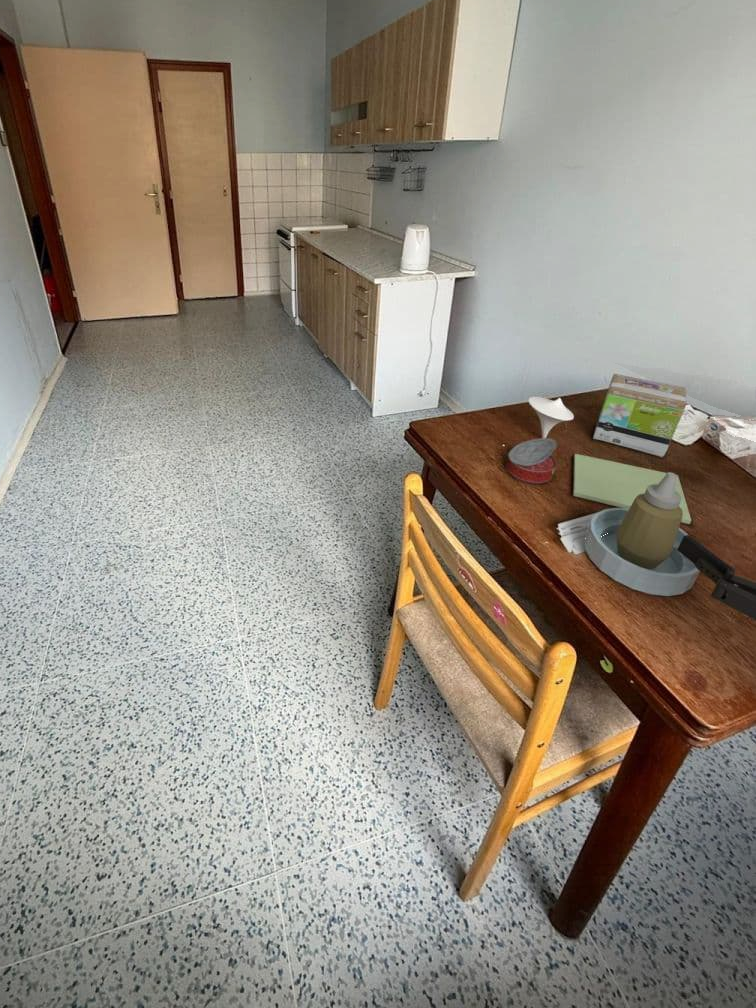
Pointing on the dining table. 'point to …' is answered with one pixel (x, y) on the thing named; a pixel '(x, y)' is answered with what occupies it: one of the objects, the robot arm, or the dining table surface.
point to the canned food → (532, 460)
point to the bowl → (661, 580)
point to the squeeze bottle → (651, 525)
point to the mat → (617, 482)
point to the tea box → (640, 414)
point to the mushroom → (550, 412)
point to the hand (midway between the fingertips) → (722, 534)
